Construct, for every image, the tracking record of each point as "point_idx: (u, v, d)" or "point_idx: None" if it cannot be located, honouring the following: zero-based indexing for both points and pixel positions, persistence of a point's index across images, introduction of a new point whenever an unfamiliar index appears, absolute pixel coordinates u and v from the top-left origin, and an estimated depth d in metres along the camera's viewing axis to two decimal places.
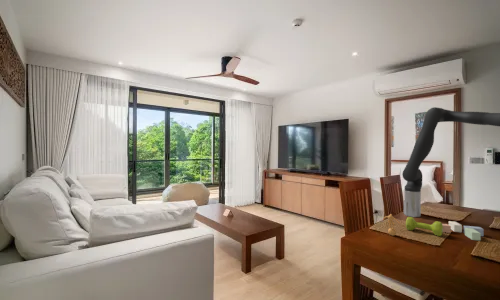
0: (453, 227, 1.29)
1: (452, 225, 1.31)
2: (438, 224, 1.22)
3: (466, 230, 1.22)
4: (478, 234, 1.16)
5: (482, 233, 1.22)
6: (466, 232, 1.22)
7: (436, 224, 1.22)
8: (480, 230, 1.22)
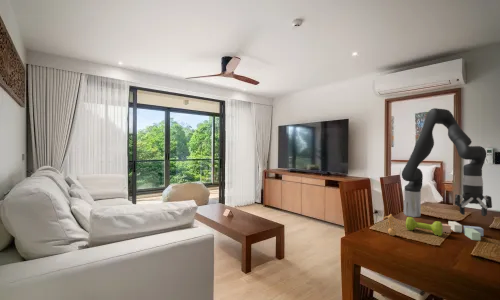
0: (453, 227, 1.29)
1: (452, 225, 1.30)
2: (438, 224, 1.22)
3: (466, 230, 1.22)
4: (478, 234, 1.16)
5: (482, 233, 1.22)
6: (466, 232, 1.22)
7: (436, 224, 1.23)
8: (480, 230, 1.22)
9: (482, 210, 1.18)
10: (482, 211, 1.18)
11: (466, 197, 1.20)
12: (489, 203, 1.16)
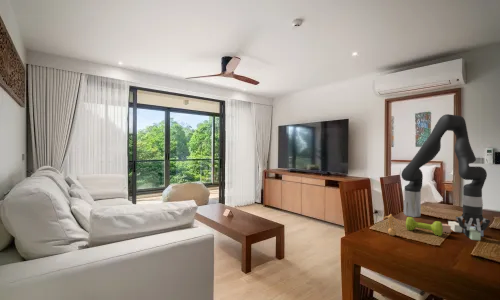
0: (453, 227, 1.29)
1: (452, 225, 1.30)
2: (438, 224, 1.22)
3: None
4: (478, 234, 1.16)
5: (482, 233, 1.22)
6: None
7: (436, 224, 1.23)
8: None
9: None
10: None
11: (466, 219, 1.20)
12: (485, 226, 1.17)
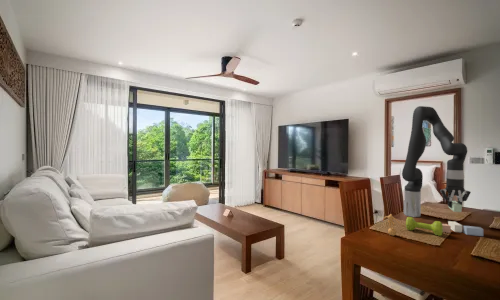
0: (453, 227, 1.29)
1: (452, 225, 1.30)
2: (438, 224, 1.22)
3: None
4: (459, 206, 1.27)
5: (482, 233, 1.22)
6: None
7: (436, 224, 1.23)
8: (480, 230, 1.22)
9: None
10: None
11: (449, 191, 1.31)
12: (466, 196, 1.28)
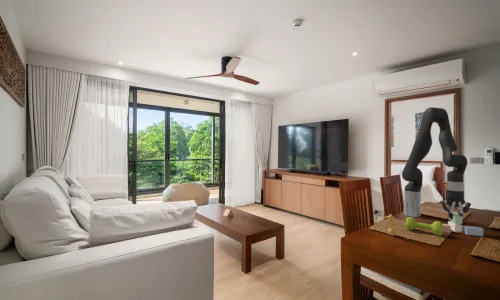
0: (453, 227, 1.29)
1: (452, 225, 1.30)
2: (438, 224, 1.22)
3: None
4: (460, 218, 1.27)
5: (482, 233, 1.22)
6: None
7: (436, 224, 1.23)
8: (480, 230, 1.22)
9: None
10: None
11: (449, 202, 1.31)
12: (466, 208, 1.28)
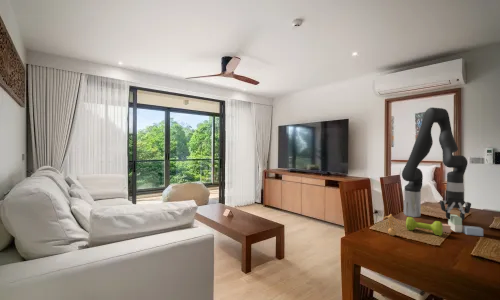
0: (454, 227, 1.29)
1: (452, 225, 1.30)
2: (438, 224, 1.22)
3: None
4: (460, 219, 1.28)
5: (482, 233, 1.22)
6: None
7: (436, 224, 1.23)
8: (480, 230, 1.22)
9: (460, 215, 1.30)
10: (460, 216, 1.30)
11: (449, 203, 1.31)
12: (468, 208, 1.28)
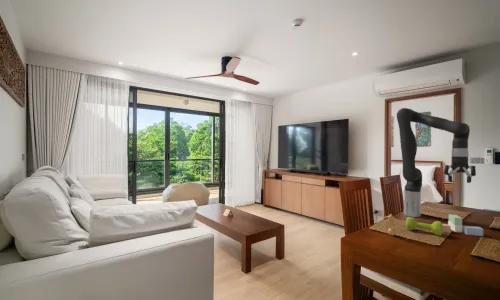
0: (454, 227, 1.29)
1: (452, 225, 1.30)
2: (438, 224, 1.22)
3: (450, 216, 1.33)
4: (460, 219, 1.28)
5: (482, 233, 1.22)
6: (449, 218, 1.34)
7: (437, 224, 1.23)
8: (480, 230, 1.22)
9: (467, 178, 1.37)
10: (467, 179, 1.37)
11: (454, 167, 1.38)
12: (473, 171, 1.35)
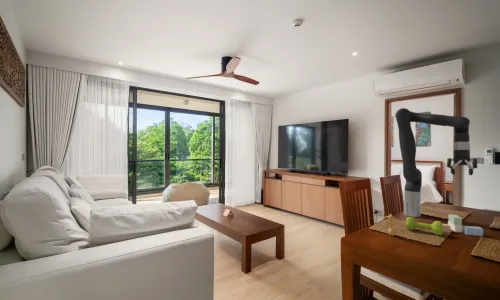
0: (454, 227, 1.29)
1: (452, 225, 1.30)
2: (439, 224, 1.23)
3: (449, 216, 1.34)
4: (459, 219, 1.28)
5: (482, 233, 1.22)
6: (449, 218, 1.34)
7: (437, 224, 1.23)
8: (480, 230, 1.22)
9: (469, 170, 1.42)
10: (469, 171, 1.42)
11: (456, 160, 1.43)
12: (475, 164, 1.40)
